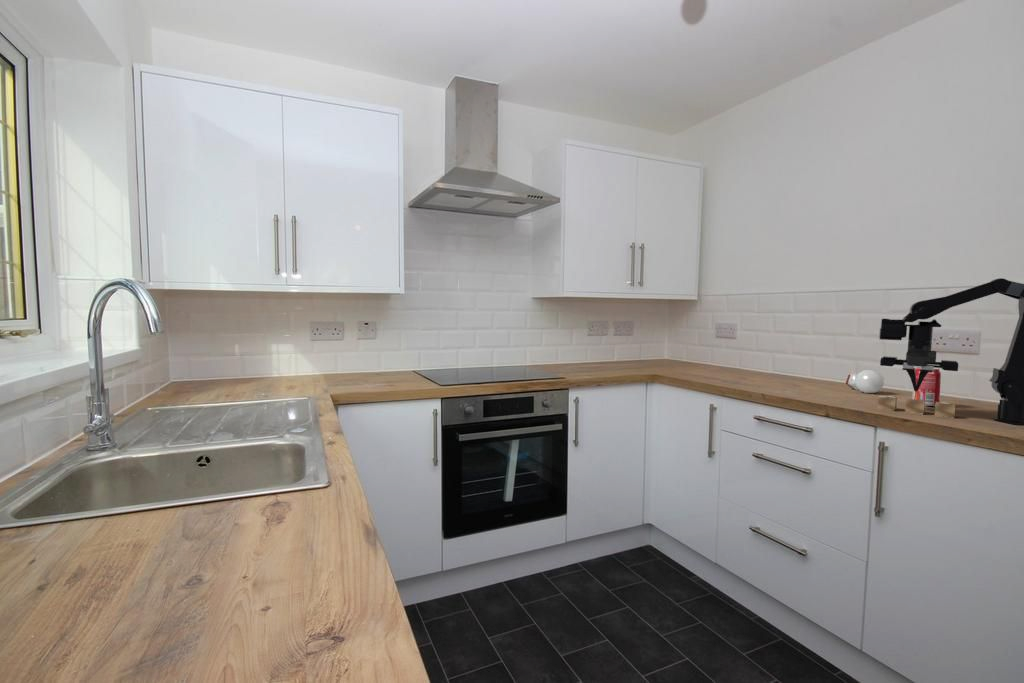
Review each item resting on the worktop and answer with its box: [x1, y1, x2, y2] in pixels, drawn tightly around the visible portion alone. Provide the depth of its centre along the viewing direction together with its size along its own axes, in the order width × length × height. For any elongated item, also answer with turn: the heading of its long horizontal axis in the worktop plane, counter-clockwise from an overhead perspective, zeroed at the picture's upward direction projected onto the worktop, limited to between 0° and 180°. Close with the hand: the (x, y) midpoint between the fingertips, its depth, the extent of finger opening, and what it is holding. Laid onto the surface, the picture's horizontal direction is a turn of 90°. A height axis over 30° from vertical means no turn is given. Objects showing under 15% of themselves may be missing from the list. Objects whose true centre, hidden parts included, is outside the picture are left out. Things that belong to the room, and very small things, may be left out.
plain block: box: [904, 398, 926, 414], centre depth 156 cm, size 4×4×4 cm
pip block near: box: [934, 401, 956, 419], centre depth 152 cm, size 4×4×4 cm
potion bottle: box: [845, 369, 885, 394], centre depth 199 cm, size 9×10×15 cm
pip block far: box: [877, 395, 898, 411], centre depth 161 cm, size 4×4×4 cm
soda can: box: [911, 366, 942, 406], centre depth 169 cm, size 7×7×13 cm
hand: (916, 390), depth 156 cm, fingers closed
